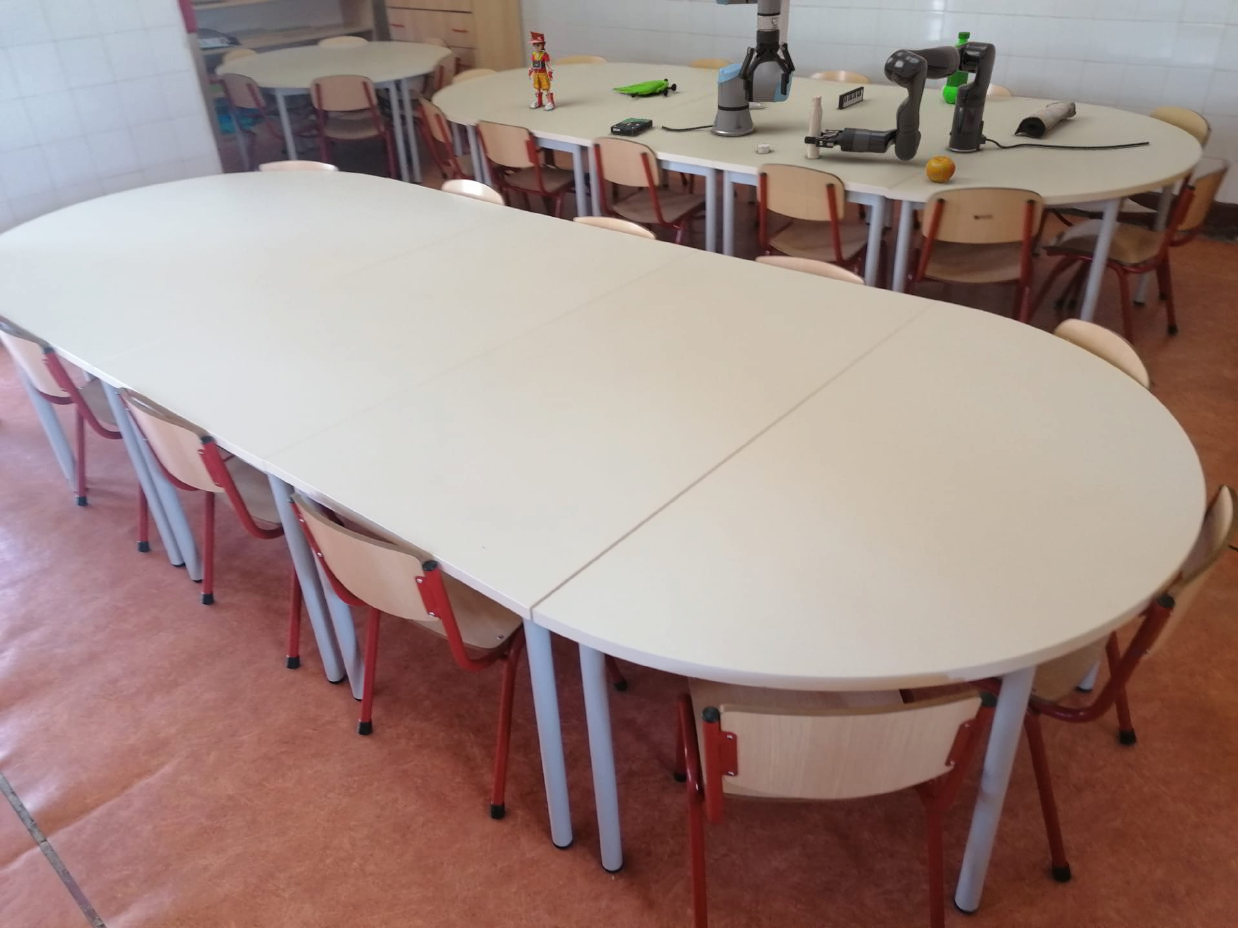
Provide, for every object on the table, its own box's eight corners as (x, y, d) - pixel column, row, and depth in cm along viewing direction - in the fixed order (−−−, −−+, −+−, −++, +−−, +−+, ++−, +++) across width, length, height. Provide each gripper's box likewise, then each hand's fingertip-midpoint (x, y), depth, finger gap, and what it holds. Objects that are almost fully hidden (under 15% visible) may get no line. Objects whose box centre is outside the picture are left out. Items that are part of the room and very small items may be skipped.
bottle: (807, 155, 307) (811, 95, 296) (819, 155, 306) (824, 95, 295) (806, 158, 304) (810, 98, 293) (818, 158, 303) (823, 98, 292)
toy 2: (686, 85, 398) (631, 84, 414) (685, 72, 395) (629, 72, 411) (651, 104, 381) (596, 103, 397) (650, 92, 378) (594, 91, 394)
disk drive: (633, 137, 337) (653, 126, 347) (633, 129, 336) (652, 119, 346) (610, 134, 342) (630, 124, 352) (609, 127, 340) (630, 117, 350)
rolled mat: (1043, 106, 330) (1068, 89, 322) (1057, 127, 331) (1082, 110, 323) (1010, 128, 313) (1035, 111, 305) (1024, 150, 313) (1050, 133, 305)
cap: (766, 153, 311) (766, 147, 310) (755, 152, 313) (755, 146, 312) (771, 150, 314) (771, 144, 312) (760, 149, 316) (761, 143, 314)
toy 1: (525, 109, 381) (517, 32, 364) (534, 104, 388) (527, 28, 371) (550, 110, 377) (543, 32, 360) (559, 105, 384) (553, 28, 367)
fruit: (919, 172, 274) (936, 148, 271) (921, 174, 282) (937, 151, 279) (942, 187, 273) (960, 164, 270) (943, 189, 281) (960, 166, 278)
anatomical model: (728, 80, 368) (752, 74, 367) (733, 106, 374) (756, 99, 373) (735, 89, 356) (760, 82, 355) (739, 115, 362) (764, 108, 361)
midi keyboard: (840, 109, 355) (842, 95, 352) (838, 108, 355) (839, 95, 353) (863, 99, 365) (864, 86, 362) (860, 99, 366) (861, 86, 363)
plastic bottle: (973, 101, 354) (984, 32, 339) (955, 106, 349) (966, 36, 335) (952, 97, 361) (962, 29, 346) (934, 102, 356) (944, 33, 342)
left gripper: (739, 35, 285) (737, 105, 297) (807, 26, 291) (803, 94, 304) (728, 32, 291) (727, 100, 303) (796, 22, 297) (792, 90, 310)
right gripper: (863, 123, 299) (814, 120, 306) (853, 134, 289) (802, 131, 295) (860, 146, 304) (812, 142, 310) (850, 158, 293) (800, 154, 299)
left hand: (765, 97), depth 303 cm, fingers open, 13 cm apart
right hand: (807, 137), depth 302 cm, fingers open, 6 cm apart
